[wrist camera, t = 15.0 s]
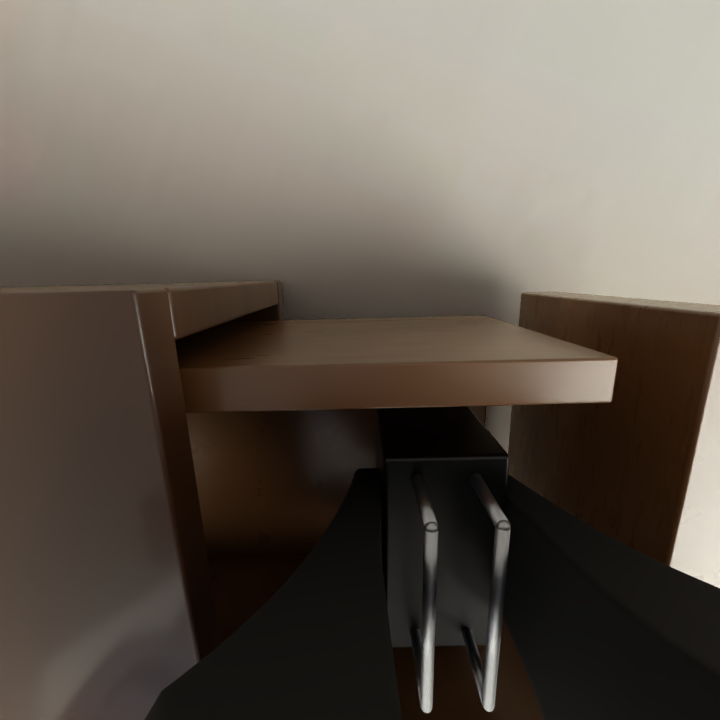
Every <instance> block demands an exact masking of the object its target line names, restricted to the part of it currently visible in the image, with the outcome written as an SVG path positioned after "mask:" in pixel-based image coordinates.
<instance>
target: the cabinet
mask: <svg viewBox="0 0 720 720" xmlns="http://www.w3.org/2000/svg"><path fill="white" fill-rule="evenodd" d="M280 320H285V316H284V303H283V289H282V282H281V281H280V280H278V281H238V282H198V283H159V284H119V285H79V286H39V287H0V720H145V718H146V716H147V715H148V713H149V711H150V709H151V708H152V706H153V704H154V703H155V701H156V699H157V698H158V696H159V694H160V692H161V691H162V690H163V689H164V688H166V687H167V686H168V685H170V684H171V683H173V682H174V681H175V680H177V679H178V678H179V677H180V676H182V675H183V674H184V673H185V672H187V671H188V670H189V669H191V668H192V667H193V666H194V665H196V664H197V663H198V662H199V661H201V660H202V659H203V658H205V657H206V656H207V655H208V654H210V653H211V652H212V651H213V650H215V649H216V648H217V647H219V646H220V645H221V642H220V635H219V629H218V622H217V615H216V609H215V602H214V596H213V589H212V582H211V576H210V569H209V562H208V556H207V549H206V543H205V536H204V529H203V523H202V516H201V510H200V503H199V496H198V490H197V483H196V476H195V470H194V463H193V457H192V450H191V443H190V437H189V430H188V424H187V417H186V410H185V404H184V397H183V391H182V384H181V377H180V371H179V364H178V357H177V351H176V344H175V340H177V339H180V338H183V337H186V336H188V335H191V334H194V333H197V332H200V331H203V330H205V329H208V328H211V327H214V326H217V325H220V324H223V323H225V322H239V321H280Z"/></svg>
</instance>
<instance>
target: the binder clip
mask: <svg viewBox="0 0 720 720" xmlns="http://www.w3.org/2000/svg"><path fill="white" fill-rule="evenodd" d="M375 412H376V468H378V469H379V474H380V480H381V487H382V551H383V575H384V584H385V593H386V602H387V610H388V618H389V626H390V634H391V642H392V648H402V647H412V651H413V658H414V665H415V672H416V679H417V686H418V693H419V700H420V706H421V709H422V710H423V712H425V713H429V712H431V710H432V707H433V681H434V651H435V647H445V646H465V647H466V650H467V654H468V657H469V661H470V664H471V667H472V671H473V674H474V678H475V681H476V685H477V688H478V692H479V695H480V699H481V702H482V705H483V707H484V709H485V710H486V711H488V712H491V711H493V710H494V707H495V698H496V686H497V675H498V664H499V653H500V642H501V631H502V620H503V609H504V598H505V587H506V576H507V565H508V554H509V542H510V531H511V525H510V523H509V521H508V519H507V518H506V516H505V504H506V493H507V481H508V469H509V455H508V454H507V453H506V451H505V450H504V449H503V448H502V447H501V445H500V444H499V443H498V442H497V441H496V439H495V438H494V437H493V436H492V435H491V433H490V432H489V431H488V430H487V429H486V427H485V426H484V425H483V424H482V423H481V421H480V420H479V419H478V418H477V417H476V415H475V414H474V413H473V412H472V411H471V409H470V408H469V407H468V406H456V407H416V408H375ZM477 646H486V651H485V664H484V668H483V665H482V662H481V658H480V655H479V652H478V649H477Z"/></svg>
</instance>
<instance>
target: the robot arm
mask: <svg viewBox="0 0 720 720" xmlns="http://www.w3.org/2000/svg"><path fill="white" fill-rule="evenodd" d="M505 516H506V518H507V519H508V521H509V523H510V525H511V531H510V542H509V554H508V565H507V576H506V587H505V598H504V609H503V619H504V621H505V623H506V626H507V628H508V630H509V632H510V635H511V637H512V639H513V641H514V643H515V646H516V648H517V650H518V652H519V654H520V657H521V659H522V662H523V664H524V667H525V669H526V671H527V674H528V676H529V679H530V681H531V684H532V687H533V690H534V693H535V695H536V698H537V701H538V704H539V707H540V709H541V712H542V715H543V718H544V720H720V588H718V587H716V586H713V585H711V584H709V583H706V582H704V581H702V580H699V579H697V578H695V577H692V576H690V575H688V574H685V573H683V572H681V571H679V570H676V569H674V568H672V567H670V566H668V565H666V564H663V563H661V562H659V561H657V560H655V559H653V558H651V557H649V556H647V555H645V554H643V553H641V552H639V551H637V550H635V549H633V548H631V547H629V546H627V545H625V544H623V543H621V542H619V541H617V540H615V539H613V538H611V537H610V536H608V535H606V534H604V533H602V532H600V531H599V530H597V529H595V528H593V527H592V526H590V525H588V524H587V523H585V522H583V521H581V520H580V519H578V518H576V517H574V516H573V515H571V514H570V513H568V512H566V511H565V510H563V509H561V508H560V507H558V506H557V505H555V504H553V503H552V502H550V501H549V500H547V499H546V498H544V497H542V496H541V495H539V494H538V493H536V492H535V491H533V490H532V489H530V488H529V487H527V486H526V485H524V484H523V483H521V482H520V481H518V480H516V479H515V478H513V477H512V476H510V475H509V474H508V481H507V493H506V504H505ZM145 720H402V714H401V707H400V700H399V693H398V686H397V679H396V671H395V664H394V657H393V650H392V642H391V634H390V626H389V618H388V610H387V602H386V593H385V584H384V575H383V551H382V487H381V480H380V474H379V469H378V468H359V469H358V470H356V471H355V473H354V477H353V480H352V483H351V485H350V488H349V490H348V492H347V494H346V496H345V498H344V500H343V502H342V504H341V506H340V508H339V510H338V511H337V513H336V515H335V517H334V518H333V520H332V521H331V523H330V525H329V526H328V528H327V529H326V531H325V532H324V534H323V536H322V537H321V538H320V540H319V541H318V543H317V544H316V546H315V547H314V548H313V550H312V551H311V552H310V554H309V555H308V556H307V557H306V559H305V560H304V561H303V562H302V564H301V565H300V566H299V567H298V569H297V570H296V571H295V572H294V573H293V574H292V575H291V576H290V578H289V579H288V580H287V581H286V582H285V583H284V584H283V586H282V587H281V588H280V589H279V590H278V591H277V592H276V593H275V594H274V595H273V596H272V597H271V598H270V599H269V600H268V601H267V602H266V603H265V604H264V605H263V606H262V607H261V608H260V609H259V610H258V611H257V612H256V613H255V614H254V615H253V616H252V617H250V618H249V619H248V620H247V621H246V622H245V623H244V624H243V625H242V626H241V627H240V628H239V629H238V630H237V631H236V632H235V633H233V634H232V635H231V636H230V637H229V638H228V639H227V640H225V641H224V642H223V643H222V644H221V645H220V646H219V647H217V648H216V649H215V650H213V651H212V652H211V653H210V654H208V655H207V656H206V657H205V658H203V659H202V660H201V661H199V662H198V663H197V664H196V665H194V666H193V667H192V668H191V669H189V670H188V671H187V672H185V673H184V674H183V675H182V676H180V677H179V678H178V679H177V680H175V681H174V682H173V683H171V684H170V685H168V686H167V687H166V688H164V689H163V690H162V691H161V692H160V694H159V696H158V698H157V699H156V701H155V703H154V704H153V706H152V708H151V709H150V711H149V713H148V715H147V716H146V718H145Z"/></svg>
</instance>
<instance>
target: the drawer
mask: <svg viewBox="0 0 720 720" xmlns="http://www.w3.org/2000/svg"><path fill="white" fill-rule="evenodd" d="M175 344H176V351H177V357H178V364H179V371H180V377H181V384H182V391H183V397H184V404H185V410H186V417H187V424H188V430H189V437H190V443H191V450H192V457H193V463H194V470H195V476H196V483H197V490H198V496H199V503H200V510H201V516H202V523H203V529H204V536H205V543H206V549H207V556H208V562H209V569H210V576H211V582H212V589H213V596H214V602H215V609H216V615H217V622H218V629H219V635H220V642H221V644H222V643H223V642H224V641H225V640H227V639H228V638H229V637H230V636H231V635H232V634H233V633H235V632H236V631H237V630H238V629H239V628H240V627H241V626H242V625H243V624H244V623H245V622H246V621H247V620H248V619H249V618H250V617H252V616H253V615H254V614H255V613H256V612H257V611H258V610H259V609H260V608H261V607H262V606H263V605H264V604H265V603H266V602H267V601H268V600H269V599H270V598H271V597H272V596H273V595H274V594H275V593H276V592H277V591H278V590H279V589H280V588H281V587H282V586H283V584H284V583H285V582H286V581H287V580H288V579H289V578H290V576H291V575H292V574H293V573H294V572H295V571H296V570H297V569H298V567H299V566H300V565H301V564H302V562H303V561H304V560H305V559H306V557H307V556H308V555H309V554H310V552H311V551H312V550H313V548H314V547H315V546H316V544H317V543H318V541H319V540H320V538H321V537H322V536H323V534H324V532H325V531H326V529H327V528H328V526H329V525H330V523H331V521H332V520H333V518H334V517H335V515H336V513H337V511H338V510H339V508H340V506H341V504H342V502H343V500H344V498H345V496H346V494H347V492H348V490H349V488H350V485H351V483H352V480H353V477H354V473H355V471H356V470H358V469H359V468H376V412H375V408H416V407H456V406H468V407H469V408H470V409H471V411H472V412H473V413H474V414H475V415H476V417H477V418H478V419H479V420H480V421H481V423H482V424H483V425H484V426H485V420H486V406H497V405H512V412H511V424H510V436H509V448H508V455H509V469H508V474H509V475H510V476H512V477H513V478H515V479H516V480H518V481H520V482H521V483H523V484H524V485H526V486H527V487H529V488H530V489H532V490H533V491H535V492H536V493H538V494H539V495H541V496H542V497H544V498H546V499H547V500H549V501H550V502H552V503H553V504H555V505H557V506H558V507H560V508H561V509H563V510H565V511H566V512H568V513H570V514H571V515H573V516H574V517H576V518H578V519H580V520H581V521H583V522H585V523H587V524H588V525H590V526H592V527H593V528H595V529H597V530H599V531H600V532H602V533H604V534H606V535H608V536H610V537H611V538H613V539H615V540H617V541H619V542H621V543H623V544H625V545H627V546H629V547H631V548H633V549H635V550H637V551H639V552H641V553H643V554H645V555H647V556H649V557H651V558H653V559H655V560H657V561H659V562H661V563H663V564H666V565H668V566H670V567H672V568H674V569H676V570H679V571H681V572H683V573H685V574H688V575H690V576H692V577H695V578H697V579H699V580H702V581H704V582H706V583H709V584H711V585H713V586H716V587H718V588H720V305H709V304H697V303H684V302H672V301H660V300H648V299H636V298H623V297H611V296H599V295H587V294H575V293H562V292H530V293H522V294H521V303H520V315H519V326H516V325H513V324H509V323H506V322H503V321H500V320H497V319H494V318H489V317H486V316H483V315H480V316H440V317H400V318H360V319H320V320H280V321H239V322H225V323H223V324H220V325H217V326H214V327H211V328H208V329H205V330H203V331H200V332H197V333H194V334H191V335H188V336H186V337H183V338H180V339H177V340H175ZM477 649H478V652H479V655H480V658H481V662H482V665H483V668H484V664H485V651H486V646H477ZM392 650H393V657H394V664H395V671H396V679H397V686H398V693H399V700H400V707H401V714H402V720H544V718H543V715H542V712H541V709H540V707H539V704H538V701H537V698H536V695H535V693H534V690H533V687H532V684H531V681H530V679H529V676H528V674H527V671H526V669H525V667H524V664H523V662H522V659H521V657H520V654H519V652H518V650H517V648H516V646H515V643H514V641H513V639H512V637H511V635H510V632H509V630H508V628H507V626H506V623H505V621H504V619H503V620H502V631H501V642H500V653H499V664H498V675H497V686H496V698H495V707H494V710H493V711H491V712H488V711H486V710H485V709H484V707H483V705H482V702H481V699H480V695H479V692H478V688H477V685H476V681H475V678H474V674H473V671H472V667H471V664H470V661H469V657H468V654H467V650H466V647H465V646H445V647H435V651H434V681H433V707H432V710H431V712H429V713H425V712H423V710H422V709H421V706H420V700H419V693H418V686H417V679H416V672H415V665H414V658H413V651H412V647H402V648H392Z"/></svg>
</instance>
